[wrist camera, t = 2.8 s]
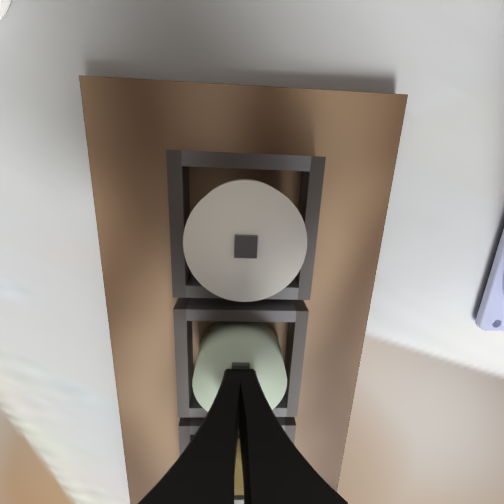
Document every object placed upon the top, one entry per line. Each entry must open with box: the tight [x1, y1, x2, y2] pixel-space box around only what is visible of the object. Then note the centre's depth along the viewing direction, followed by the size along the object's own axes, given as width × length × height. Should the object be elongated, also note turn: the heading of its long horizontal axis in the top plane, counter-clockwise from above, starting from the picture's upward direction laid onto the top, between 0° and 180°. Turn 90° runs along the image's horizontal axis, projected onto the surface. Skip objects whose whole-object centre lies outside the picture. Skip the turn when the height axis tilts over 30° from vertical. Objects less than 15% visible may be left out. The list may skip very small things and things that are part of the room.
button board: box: [79, 76, 408, 504], centre depth 15 cm, size 14×26×3 cm, turn 178°
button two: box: [192, 321, 287, 412], centre depth 14 cm, size 4×4×3 cm
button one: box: [183, 179, 307, 302], centre depth 11 cm, size 4×4×3 cm
